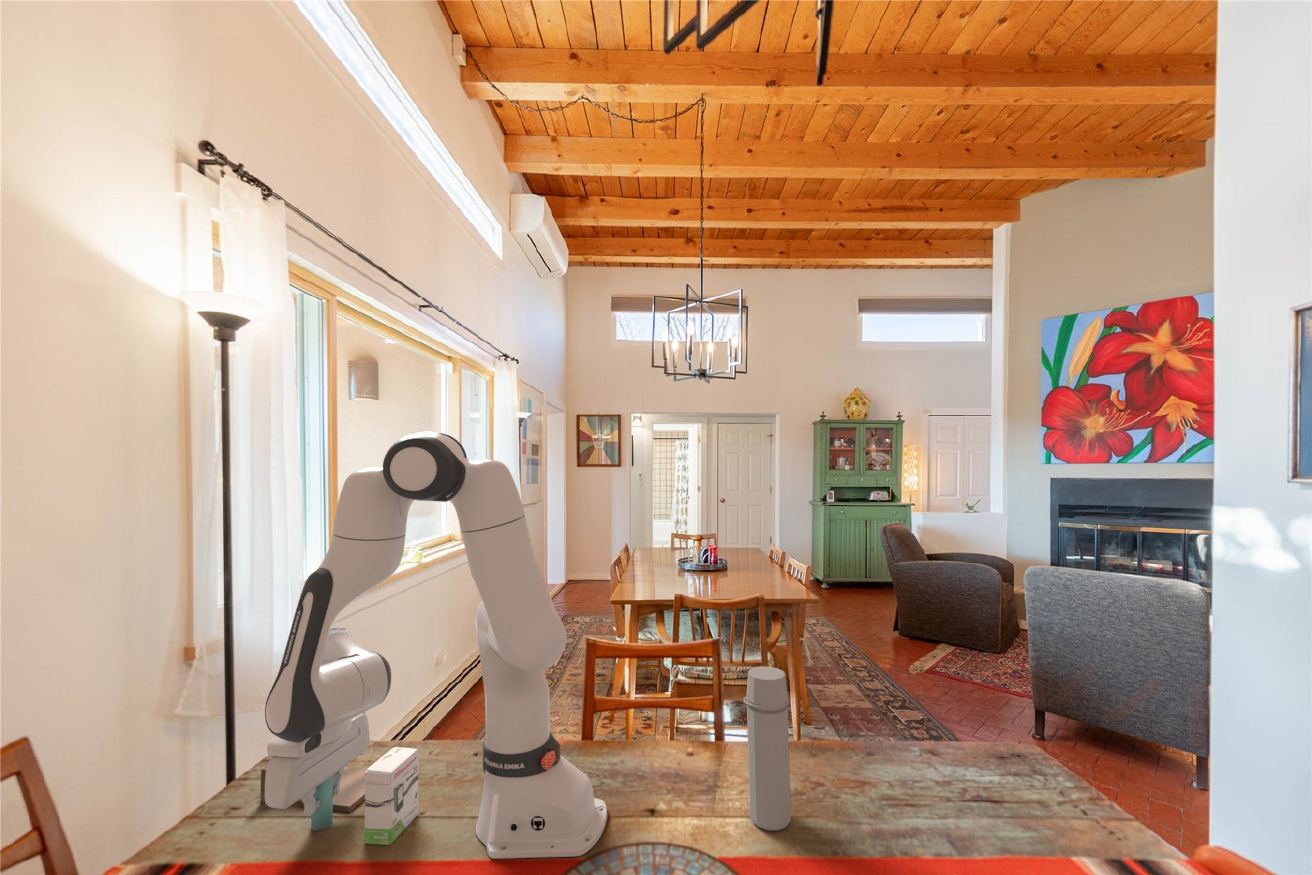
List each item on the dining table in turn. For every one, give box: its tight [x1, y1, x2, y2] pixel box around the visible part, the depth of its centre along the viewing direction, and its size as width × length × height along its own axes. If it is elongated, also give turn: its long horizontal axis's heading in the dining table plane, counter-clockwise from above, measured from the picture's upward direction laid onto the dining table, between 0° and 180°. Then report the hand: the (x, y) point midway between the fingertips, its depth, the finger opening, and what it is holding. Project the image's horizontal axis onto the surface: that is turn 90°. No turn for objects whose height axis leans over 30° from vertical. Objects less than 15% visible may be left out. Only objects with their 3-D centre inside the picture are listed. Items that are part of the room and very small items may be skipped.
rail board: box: [260, 765, 369, 813], centre depth 108 cm, size 19×12×6 cm, turn 80°
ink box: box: [364, 746, 420, 846], centre depth 96 cm, size 9×5×12 cm, turn 172°
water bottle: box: [743, 666, 792, 832], centre depth 98 cm, size 9×8×25 cm
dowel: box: [310, 775, 334, 832], centre depth 97 cm, size 3×3×10 cm
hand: (322, 803), depth 97 cm, fingers closed on dowel, 3 cm apart
